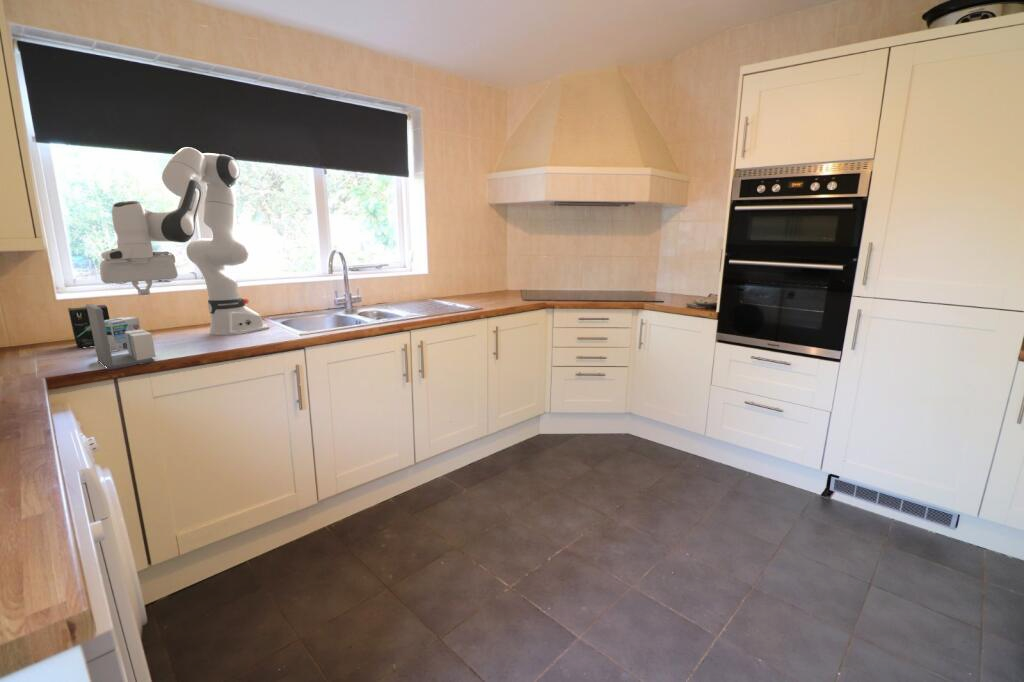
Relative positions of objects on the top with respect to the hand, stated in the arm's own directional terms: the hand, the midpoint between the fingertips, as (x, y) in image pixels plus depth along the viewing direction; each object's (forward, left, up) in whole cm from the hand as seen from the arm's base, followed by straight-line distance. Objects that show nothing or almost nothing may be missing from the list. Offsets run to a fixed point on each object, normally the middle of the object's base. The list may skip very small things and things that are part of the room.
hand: (144, 294), depth 160 cm
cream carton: (+1, 0, -16) cm, 16 cm away
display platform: (+8, 0, -21) cm, 23 cm away
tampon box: (+10, -40, -22) cm, 47 cm away
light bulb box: (+4, -26, -22) cm, 34 cm away
